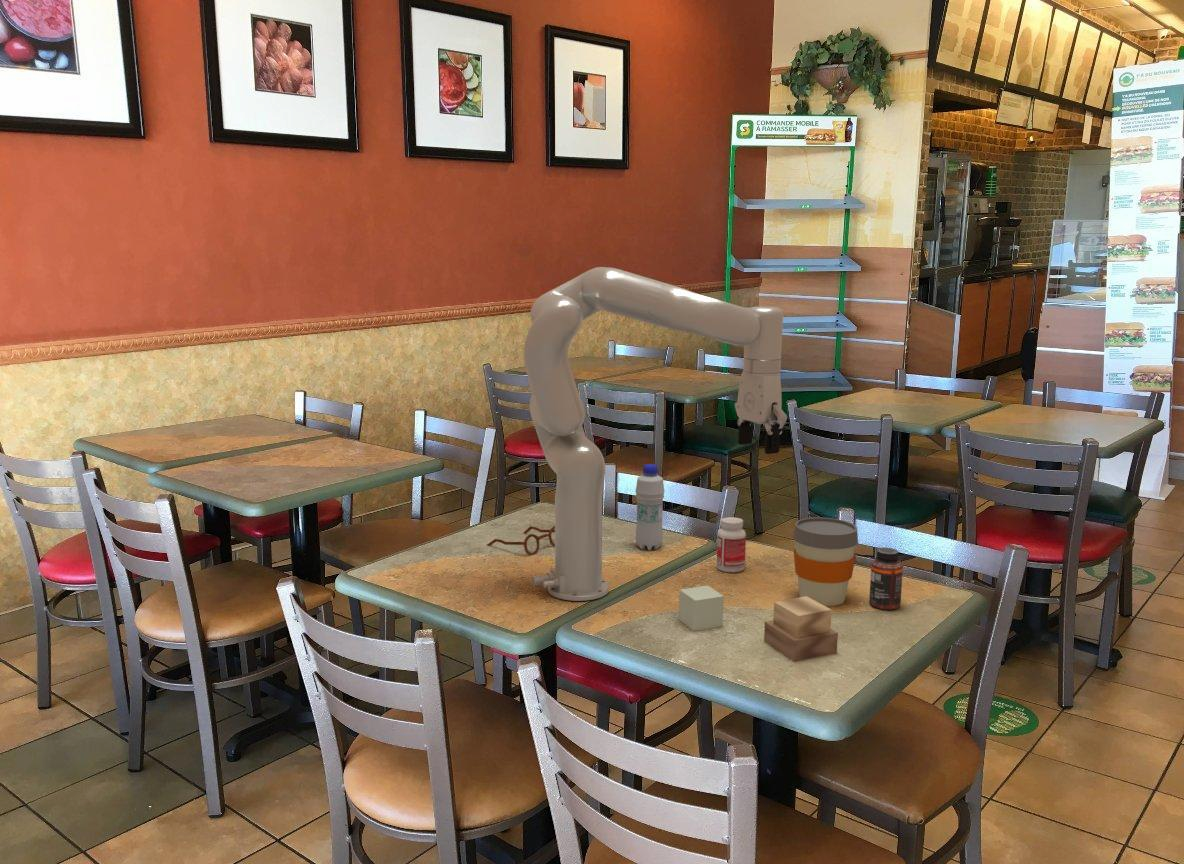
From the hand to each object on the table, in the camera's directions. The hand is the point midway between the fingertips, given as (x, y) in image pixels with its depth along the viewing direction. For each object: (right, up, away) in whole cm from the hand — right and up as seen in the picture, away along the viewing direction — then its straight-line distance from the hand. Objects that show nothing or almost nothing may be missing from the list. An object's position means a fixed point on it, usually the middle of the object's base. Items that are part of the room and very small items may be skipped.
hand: (758, 448), depth 197 cm
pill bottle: (-4, -27, +9) cm, 29 cm away
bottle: (-21, -24, +24) cm, 40 cm away
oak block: (+2, -31, -31) cm, 44 cm away
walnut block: (+2, -35, -31) cm, 46 cm away
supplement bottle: (+23, -31, -11) cm, 40 cm away
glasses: (-50, -24, +26) cm, 61 cm away
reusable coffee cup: (+12, -30, -7) cm, 33 cm away
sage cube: (-14, -32, -20) cm, 41 cm away
